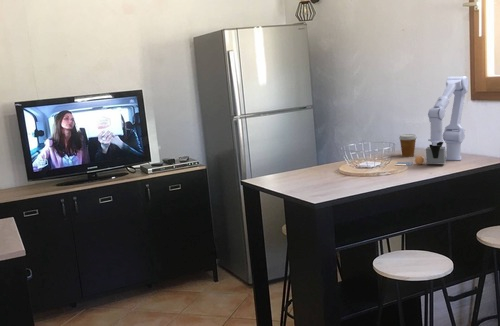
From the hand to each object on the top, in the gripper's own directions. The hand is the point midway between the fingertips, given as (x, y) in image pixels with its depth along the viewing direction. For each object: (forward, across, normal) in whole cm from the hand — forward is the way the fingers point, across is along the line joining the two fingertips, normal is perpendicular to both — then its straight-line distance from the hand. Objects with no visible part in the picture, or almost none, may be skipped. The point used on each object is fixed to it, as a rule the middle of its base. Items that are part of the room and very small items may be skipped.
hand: (436, 157), depth 276 cm
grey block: (+3, 0, 0) cm, 3 cm away
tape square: (+4, 0, -16) cm, 17 cm away
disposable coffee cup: (+4, -22, -18) cm, 29 cm away
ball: (+2, 0, -8) cm, 9 cm away
